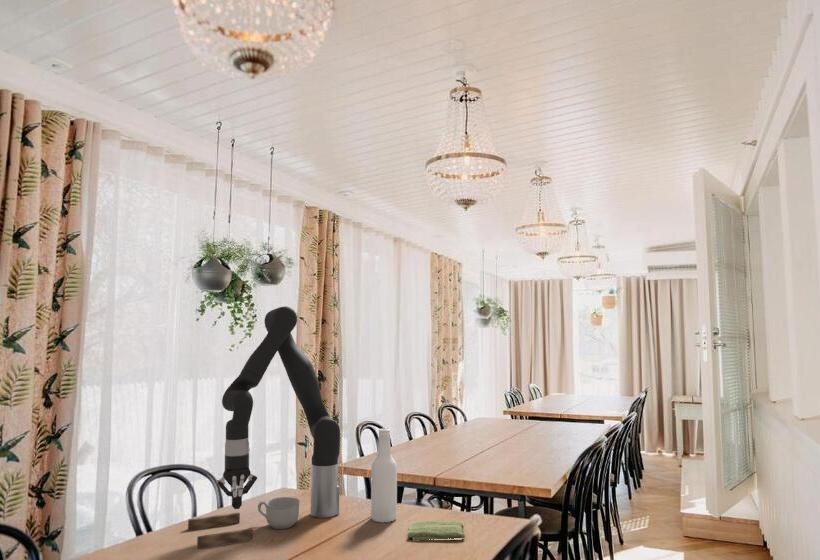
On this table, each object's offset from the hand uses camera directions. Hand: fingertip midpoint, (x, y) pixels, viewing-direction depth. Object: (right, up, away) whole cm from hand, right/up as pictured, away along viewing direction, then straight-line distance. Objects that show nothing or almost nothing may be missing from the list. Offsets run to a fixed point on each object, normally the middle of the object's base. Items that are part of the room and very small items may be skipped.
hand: (236, 508), depth 182 cm
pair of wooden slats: (-5, -7, -3) cm, 9 cm away
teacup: (+12, -8, +6) cm, 16 cm away
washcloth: (+63, -8, -2) cm, 64 cm away
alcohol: (+46, -9, +13) cm, 49 cm away
